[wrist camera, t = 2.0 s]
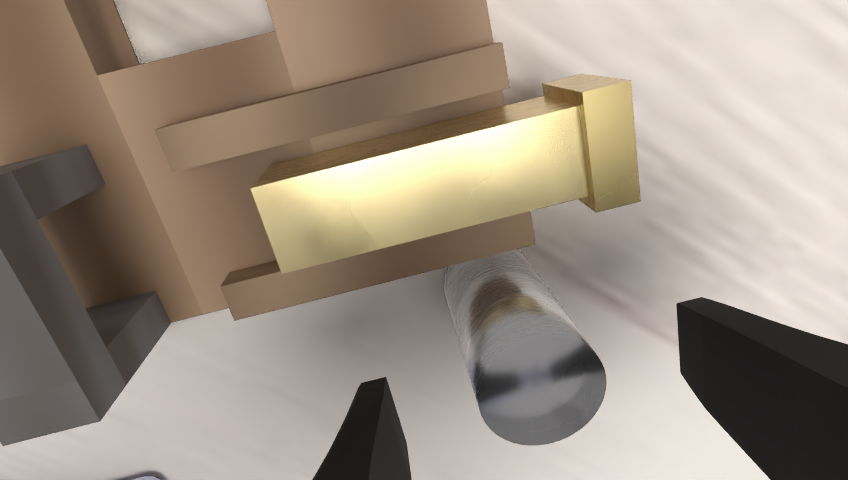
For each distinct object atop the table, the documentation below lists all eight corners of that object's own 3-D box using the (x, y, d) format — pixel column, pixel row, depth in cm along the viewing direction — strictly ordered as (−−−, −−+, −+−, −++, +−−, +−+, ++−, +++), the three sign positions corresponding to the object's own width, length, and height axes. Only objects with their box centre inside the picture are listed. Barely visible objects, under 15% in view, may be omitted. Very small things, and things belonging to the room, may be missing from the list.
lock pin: (299, 248, 14) (284, 291, 11) (266, 152, 13) (241, 178, 10) (592, 173, 14) (640, 201, 11) (581, 73, 13) (630, 79, 10)
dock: (107, 306, 16) (-46, 458, 10) (-122, -134, 12) (-610, -313, 6) (504, 206, 17) (581, 298, 11) (417, -266, 12) (463, -570, 6)
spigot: (453, 330, 18) (491, 458, 12) (435, 253, 17) (466, 355, 11) (537, 309, 18) (612, 427, 12) (523, 230, 17) (599, 321, 11)
